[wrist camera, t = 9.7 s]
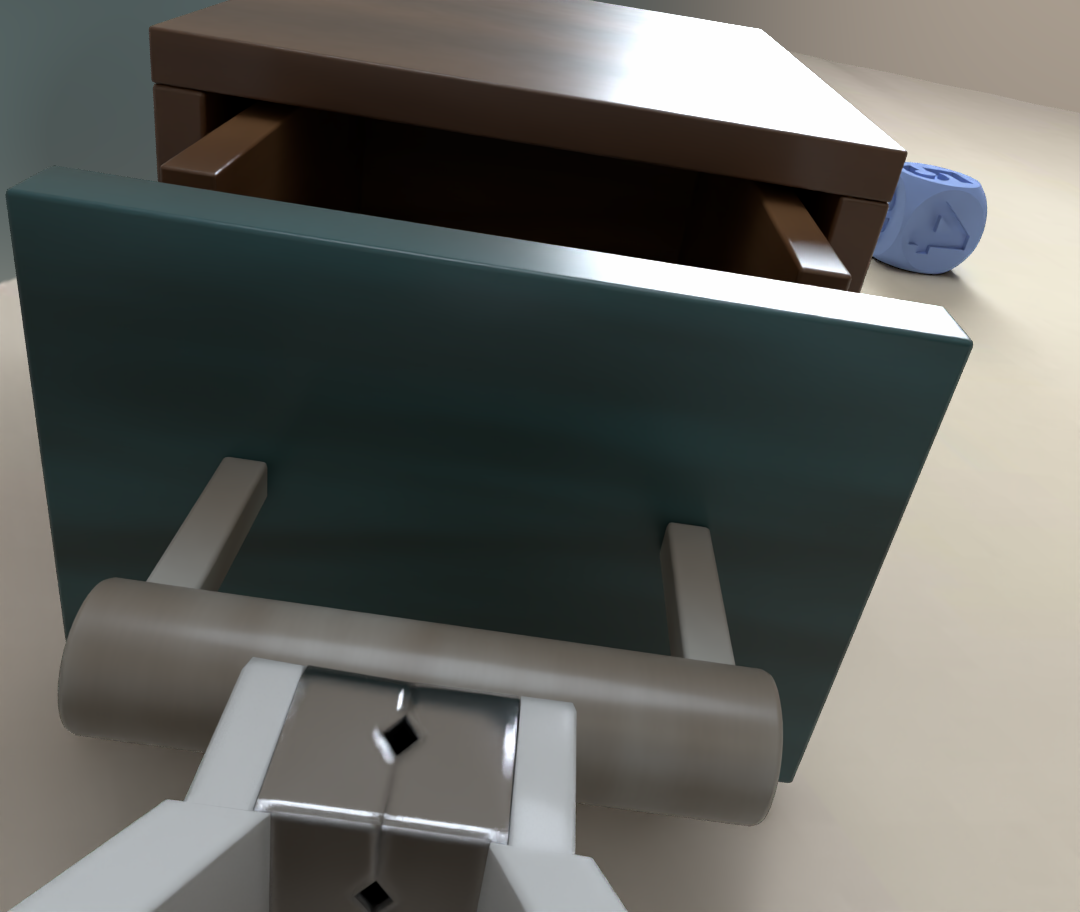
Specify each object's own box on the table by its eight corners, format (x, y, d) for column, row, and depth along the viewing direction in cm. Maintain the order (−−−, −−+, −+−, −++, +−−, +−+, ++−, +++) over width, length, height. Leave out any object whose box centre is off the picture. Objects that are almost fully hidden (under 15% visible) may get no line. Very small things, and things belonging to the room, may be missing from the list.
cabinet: (756, 599, 21) (909, 151, 16) (173, 515, 21) (147, 25, 16) (690, 320, 35) (762, 29, 30) (336, 265, 34) (349, -41, 29)
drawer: (858, 1073, 12) (1166, 564, 8) (-102, 953, 11) (-299, 345, 7) (700, 383, 28) (774, 103, 24) (303, 322, 28) (310, 26, 24)
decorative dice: (966, 278, 44) (1000, 192, 42) (887, 270, 44) (917, 182, 42) (925, 248, 48) (955, 167, 46) (851, 240, 47) (878, 157, 45)
